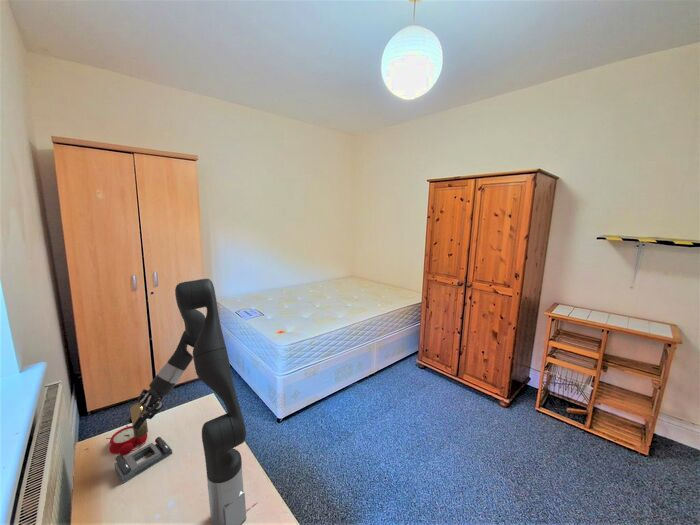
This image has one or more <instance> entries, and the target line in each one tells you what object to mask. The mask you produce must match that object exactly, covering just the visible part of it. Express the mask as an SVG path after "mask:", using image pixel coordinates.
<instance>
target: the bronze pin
mask: <svg viewBox="0 0 700 525" xmlns="http://www.w3.org/2000/svg"><path fill="white" fill-rule="evenodd" d="M144 406H145V405H144V403H143V402H138V403H136V402H135V403H134V404H132V405H131V406H130V407H129V411H130V417H131V418H132V423H131V424H132V425H131V426H133V425H134V424H135V422H136V421H137V420H138V418H139V417H140V416H141V414H142V412H143V411H144V409H143V408H144ZM146 413H147V412H146ZM146 413H145V414H146ZM147 420H148V419H146V420H145V421H144V423H143V424H142V425H141V427H140V428H139V429H138V430H137V429H133V432H134V437H135V438H139V437H142V436H144V435H146V434H147V435H148V432H149V428H148V421H147Z"/></svg>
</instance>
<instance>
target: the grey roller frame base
mask: <svg viewBox="0 0 700 525" xmlns="http://www.w3.org/2000/svg"><path fill="white" fill-rule="evenodd" d="M154 443H155V444H154ZM154 443H153V442H150V443H148V444H146V445H145V446H142V447H140V448H139V449H137V450H135V451H134V452H132V453H129V454H128V455H126V456H123V455H122V454H117V456H116V457H115V461H116V462H115V463H113V465H114V471H115V473H116V475H117V476H118V479H119V480H120V482H121V484H125V483H126V482H128V481H130V480H131V479H133V478H135V477H136V476H138V475H140V474H141V473H143V472H145V471H146V470H148V469H150V468H151V467H153V466H154V465H156V464H158V463H159V462H161V461H163V460H164V459H166V458H168V457H169V456H171V455H172V454H173V449H172V448H171V447H170V445H169V444H167V442H166V441H165V440H164V439H162V437H161V436H158V437H156V438H155V441H154ZM149 454H151V456H150V457H148V458H146V459H144V460H143V461H141V462H139V463H137V461H139V460H141V459H143V458H144V457H146V456H148V455H149Z"/></svg>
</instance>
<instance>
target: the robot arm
mask: <svg viewBox="0 0 700 525" xmlns="http://www.w3.org/2000/svg"><path fill="white" fill-rule="evenodd" d="M174 292H175V293H174V294H175V295H174V296H175V301H176V304H177V308H178V311H179V314H180V315H181V317H182V321H183V323H184V331H183V333H182V334H181V337H180V340H179V342H178V344H177V345H176V346H177V347H176V348H175V351H174V352H173V354H172V355H171V357H170V358H169V359H168V360H167V362H165V364H164V365H163V366H162V367H161V368H160V370H159V371H158V372H157V374H156V375H155V377H154V378H153V379H152V380H151V382H150V383H149V385H148V387H149V389H145V388H144V389H143V390H142V391H141V393H140V394H139V397H138V398H137V401H136V402H135V403H138V402H143V403H144V405H145V406H144V408H143V409H144V411H143V412H142V414H141V416H140V417H139V418H138V420H137V421H136V422H135V424H134V425H131V426H132V428H133V429H137V430H138V429H139V428H140V427H141V425H142V424H143V423H144V421H145V420H152V419H153V418H154V417H155V416H156V415H157V414H158V413H159V412H160V411H161V409H163V408H164V406H165V404H164V403H162V401H163V399H164V396H166V395H167V396H168V395H169V394H170V393H171V392H172V390H173V389H174V388H175V386H176V384H177V383H178V381H179V380H180V379H181V377H182V376H183V374H184V372H185V371H186V369H187V368H188V367H189V365H190V364H191V362H192V360H193V364H194V368H195V374H196V376H197V378H198V379H199V380H200V381H202V383H203V384H205V386H207V387H208V388H210V390H212V391H213V392H214V393H215V394H216V395H217V396H218V397H219V398H220V399H221V401H222V402H223V404H224V406H225V409H226V410H227V412H226V413H224V414H222V415H219V416H217V417H215V418H212V419H210V420H207V421H206V422H204V424H203V425H202V428H201V440H202V441H201V442H202V446H203V451H204V458H205V459H204V460H205V469H206V481H207V491H208V502H209V510H210V511H209V512H210V513H209V514H210V522H211V525H239V524H240V525H242V524H243V523H244V522H245V521H246V520H247V507H246V493H245V491H244V480H243V479H244V478H243V465H242V463H243V461H242V459H243V458H242V455H241V453H240V451H239V450H238V449H237V447H239V446H240V445H242V444H243V443H245V441H246V438H247V431H246V425H245V420H244V416H243V413H242V410H241V406H240V403H239V399H238V395H237V393H236V389H235V386H234V385H235V384H234V381H233V376H232V375H233V374H232V370H231V364H230V358H229V353H228V350H227V345H226V342H225V338H224V334H223V330H222V326H221V322H220V316H219V310H218V302H217V296H216V291H215V286H214V283H213V281H212V280H211V279H210V278H201V279H195V280H188V281H182V282H179V283H177V284H176V286H175V290H174ZM203 308H206V316H205V314H204V313H202V311H200V310H198V309H203ZM188 346H190V347H191V348H193V349H192V354H191V353H190V352H189V351H188ZM145 413H146V414H145ZM127 422H128V423H129V424H132V418H131V416H130V417H129V418H128V420H127ZM235 448H236V449H235ZM245 519H246V520H245ZM244 520H245V521H244ZM243 521H244V522H243ZM242 522H243V523H242Z"/></svg>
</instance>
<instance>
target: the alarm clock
mask: <svg viewBox="0 0 700 525" xmlns="http://www.w3.org/2000/svg"><path fill="white" fill-rule="evenodd" d="M132 426H133V425H129V426H128V425H126V427H124V428H121V429H118V431H116V432H115V433H114V434H113V435H112V436H111V437H106V438H105V439H106V440H109V443H110V445H109V447H108V449H109V450H108V451H109V452H110V454H114V455H120V454H122V455H123V457H125V456H128V455H130V454H131V452H133V451H134V452H136V451H138V450H139V449H141V448H143V447H144V445H146V441H147V439H148V433H147V434H146V435H144V436H142V437H139V438H135V437H134V432H133V428H132ZM138 446H139V447H138ZM136 447H137V448H136ZM135 448H136V449H135Z"/></svg>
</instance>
